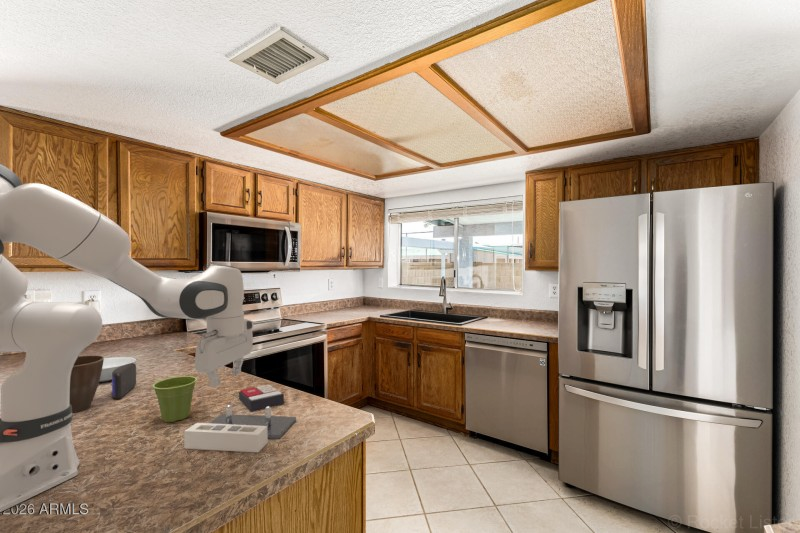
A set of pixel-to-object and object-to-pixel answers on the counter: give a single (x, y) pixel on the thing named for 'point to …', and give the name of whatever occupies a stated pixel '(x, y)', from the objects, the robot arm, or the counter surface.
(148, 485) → the counter surface
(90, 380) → the plant pot
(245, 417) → the mounting plate
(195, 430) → the power strip
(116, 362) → the serving bowl
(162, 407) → the plant pot
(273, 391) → the calculator
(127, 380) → the dark grey slab
